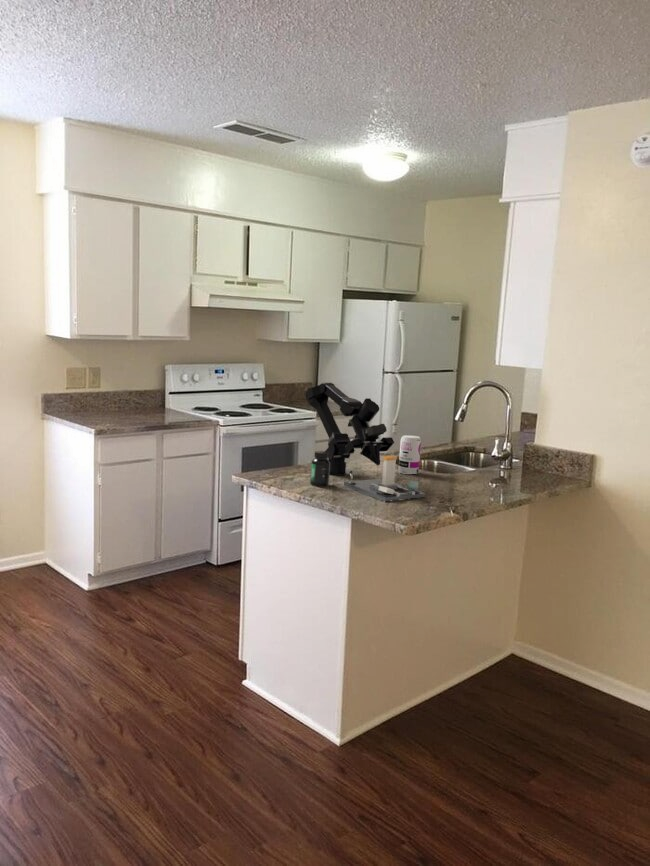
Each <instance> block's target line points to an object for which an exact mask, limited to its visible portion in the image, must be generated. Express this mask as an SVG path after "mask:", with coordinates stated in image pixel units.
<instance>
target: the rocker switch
mask: <svg viewBox="0 0 650 866" xmlns="http://www.w3.org/2000/svg"><path fill="white" fill-rule="evenodd" d="M378 490H380V491H383V492H386V493H390V494H394V490H392V489H390V488H387V487H383V486H379V489H378Z"/></svg>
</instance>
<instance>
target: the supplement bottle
mask: <svg viewBox="0 0 650 866" xmlns="http://www.w3.org/2000/svg"><path fill="white" fill-rule="evenodd" d="M325 451H326V450H316V451H314V455H313V457H314V458H313V459H312V460H311V462H310V463H311V464H310V475H309V476H310V478H309V480H310V481H309V484H310V485H311V486H312V487H316V488H317V487H318V488H319V487H320V488H323V487H324V488H325V487H326V488H327V487H328V486H329V484H330V475H331V474H330V461H329V459H328V452H325Z"/></svg>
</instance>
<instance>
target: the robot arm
mask: <svg viewBox="0 0 650 866" xmlns="http://www.w3.org/2000/svg"><path fill="white" fill-rule="evenodd" d="M304 395H305V399H306V402H307V403H308V404H309V406H310V407H312V408H313V409H314V410H316V412H317V414H318V417H319V419H320V422H321V423H322V426H323V427H324V430H325V433H326V434H327V436H328V443H327V448H326V449H325V450H324V451H325V452H328V458H327V459H328V460H329V461H330V475H331V476H333V475H334V476H344V475H345V474H346V473H347V461H346V459H350V457H351V454H352V455H353V454H354V453H355V451H356V450H355V449H360V450H361V451H360V453H359V454H360V455H361V456H364V457H366V459H368V460H370V461H371V462H372V463H373V464H374V465H377V466H380V465H381V456H380V453H381V452H383V453H384V452H387V451H389V450H390V449H391V447H392V446H393V445H394V444H395V441H394V438H393V437H392V436H391V437H390V436H386V437H385V436H384V437H382V438H381V439H380V440H378V439H379V438H380V437H379V436H381V435H384V434H385V433H386V432H387V427H386V425H385V423H380V424H378V425H377V424H376V425H375V424H374V425H371V426H370V424H369V422H371V421H372V420H373V419H374V418H375V417H376V416H377V414H378V413H379V411H380V405H378V403H376V402H375V401H373V400H371V399H372V398H367V397H366V398H365V399H364V401H363V402H362V401H360V400H358V399H356V398H353V397H349V396H348V395H346V394H345V393H344V392H343V391H342V390H341V389H339V388H338V387H337V386H336V385H335V384H334V383H332V382H322V383H320V384H319V385H315V386H313V387H309V388H308V389H307V390H306V391H305V393H304ZM329 398H330V399H331V400H332V401H333V402H334V403H335V404H336V405H338V407H339V411H340V412H341V413H342V414H343V416H345V417H351V419H348V423H347V427H348V428H351V427H352V429H353V431H354V433H355V435H354V438H350V437H349V435H348V433H346V432H345V433H342V432H341V430H340V428H339V426H338V424H337V421H336V420H335V418H334V416H333V413H332V412H331V409H330V407H329V404H328V403H329ZM377 440H378V441H377Z"/></svg>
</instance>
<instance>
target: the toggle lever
mask: <svg viewBox="0 0 650 866" xmlns="http://www.w3.org/2000/svg"><path fill="white" fill-rule="evenodd" d="M348 473H349V476H350V481H354V476H353V470H351V469H350V470H349V472H348Z"/></svg>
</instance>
